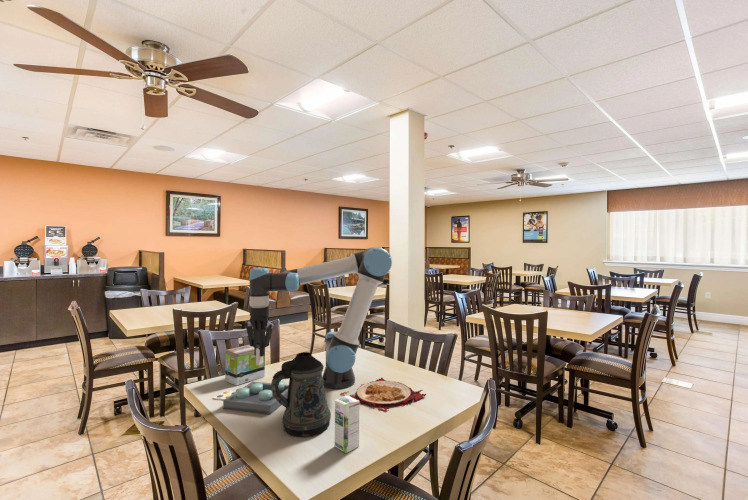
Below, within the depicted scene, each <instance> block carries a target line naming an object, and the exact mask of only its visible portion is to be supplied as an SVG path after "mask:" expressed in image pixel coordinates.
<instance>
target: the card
mask: <svg viewBox="0 0 748 500" xmlns="http://www.w3.org/2000/svg"><path fill="white" fill-rule="evenodd" d="M235 392H236V390H228V389H226V390H223V391H222V392H220V393H218V394H217V395H215V396H213V397H212V400H217V401H218V400H219V401H223V400H225V399H226V398H228V397H229V396H231V395H232V394H234V393H235Z"/></svg>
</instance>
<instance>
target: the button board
mask: <svg viewBox="0 0 748 500" xmlns="http://www.w3.org/2000/svg"><path fill="white" fill-rule="evenodd" d="M255 383H261V384H263V390H271V382H262V381H250V383H248V384H246V385H245V386H243V387H242V388H249V397H247V398H244V399H237V398H236V392H235V393H234V394H232V395H231V396H229V397H228V398H226V399H225V400H222V402H223V403H222V407H223V410H227V411H228V410H229V411H237V412H238V411H240V412H247V413H256V414H263V415H272V414H273V413H275V411H276V410H278V408H280V407H281V406H282V405H281V404H280V403H279V402H278V401H277V400H276V398H275V397H274V395H273V393H272V399H271V400H269V401H265V402H262V401H259V393H257V394H252V393H250V386H251V385H252V384H255ZM288 386H289V384H284V390H282V391H280V392H281V394H282V395H283V396H284V397H285V398H286V399H287V395H288ZM271 391H272V390H271Z"/></svg>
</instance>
